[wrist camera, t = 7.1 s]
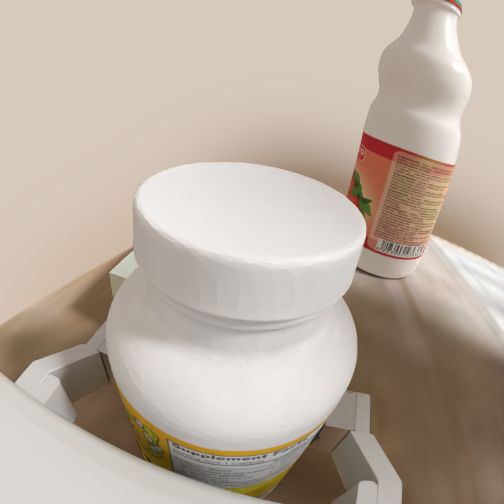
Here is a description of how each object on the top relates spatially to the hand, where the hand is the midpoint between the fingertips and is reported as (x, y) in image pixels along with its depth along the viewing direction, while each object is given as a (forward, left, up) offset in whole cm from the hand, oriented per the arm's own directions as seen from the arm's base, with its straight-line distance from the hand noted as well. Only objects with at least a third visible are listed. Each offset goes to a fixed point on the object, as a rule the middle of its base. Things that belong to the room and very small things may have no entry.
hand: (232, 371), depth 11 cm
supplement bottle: (0, +1, -6) cm, 6 cm away
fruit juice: (-9, -24, -6) cm, 26 cm away
